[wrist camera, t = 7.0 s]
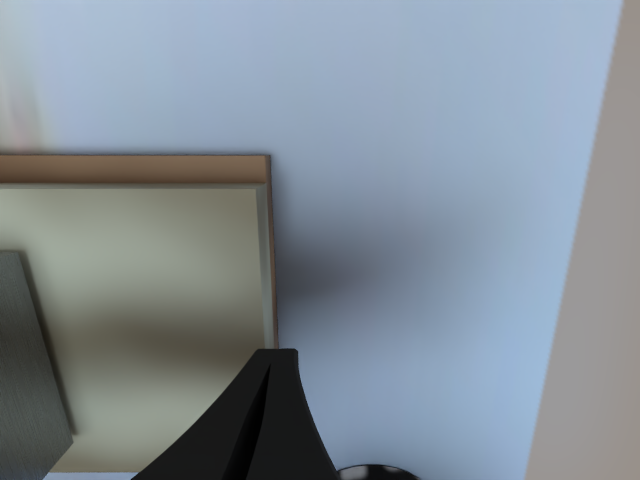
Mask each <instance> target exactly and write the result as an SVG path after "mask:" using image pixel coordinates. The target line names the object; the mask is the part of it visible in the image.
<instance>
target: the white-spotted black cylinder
mask: <svg viewBox="0 0 640 480" xmlns="http://www.w3.org/2000/svg"><path fill="white" fill-rule="evenodd" d="M337 473H338V475H339V477H340V478H341V480H420V479H419V478H417V477H415V476H413V475H412V474H410V473H408V472H405V471H402V470H400V469H397V468H392V467H386V466H375V465H366V466H358V467H352V468H348V469H344V470H341V471H338V472H337Z"/></svg>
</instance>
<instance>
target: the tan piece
mask: <svg viewBox="0 0 640 480" xmlns="http://www.w3.org/2000/svg"><path fill="white" fill-rule="evenodd" d="M0 252H18V254H19V258H20V261H21V265H22V268H23V271H24V275H25V278H26V282H27V285H28V288H29V292H30V295H31V299H32V302H33V305H34V309H35V312H36V316H37V319H38V323H39V326H40V329H41V333H42V336H43V340H44V343H45V346H46V350H47V353H48V357H49V360H50V363H51V367H52V370H53V374H54V377H55V380H56V384H57V387H58V391H59V394H60V397H61V401H62V404H63V408H64V411H65V414H66V418H67V421H68V425H69V428H70V431H71V435H72V438H73V442H74V443H73V444H72V445H71V446H70V448H69V449H68V450H67V451H66V452H65V454H64V455H63V456H62V457H61V458H60V459H59V461H58V462H57V463H56V464H55V465H54V467H53V468H52V469H51V470H50V471H49V472H141V471H142V470H143V469H144V468H145V467H147V466H148V465H149V464H150V463H151V462H152V461H154V460H155V459H156V458H157V457H158V456H159V455H161V454H162V453H163V452H164V451H165V450H166V449H167V448H168V447H170V446H171V445H172V444H173V443H174V442H175V441H176V440H177V439H178V438H179V437H180V436H181V435H182V434H183V433H184V432H186V431H187V430H188V429H189V428H190V427H191V426H192V425H193V424H194V423H195V422H196V421H197V420H198V418H199V417H200V416H201V415H202V414H203V413H204V412H205V411H206V410H207V409H208V408H209V407H210V406H211V405H212V403H213V402H214V401H215V400H216V399H217V398H218V397H219V396H220V395H221V393H222V392H223V391H224V390H225V389H226V387H227V386H228V385H229V384H230V383H231V382H232V380H233V379H234V378H235V377H236V375H237V374H238V373H239V372H240V370H241V369H242V368H243V367H244V365H245V364H246V363H247V361H248V360H249V359H250V357H251V356H252V355H253V353H254V352H255V351H256V350H257V349H279V347H278V325H277V302H276V279H275V256H274V233H273V210H272V187H271V164H270V155H0Z"/></svg>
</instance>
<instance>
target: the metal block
mask: <svg viewBox="0 0 640 480" xmlns="http://www.w3.org/2000/svg"><path fill="white" fill-rule="evenodd" d="M73 443H74V442H73V438H72V435H71V431H70V428H69V425H68V421H67V418H66V414H65V411H64V408H63V404H62V401H61V397H60V394H59V391H58V387H57V384H56V380H55V377H54V374H53V370H52V367H51V363H50V360H49V357H48V353H47V350H46V346H45V343H44V340H43V336H42V333H41V329H40V326H39V323H38V319H37V316H36V312H35V309H34V305H33V302H32V299H31V295H30V292H29V288H28V285H27V282H26V278H25V275H24V271H23V268H22V265H21V261H20V258H19V254H18V252H0V480H42V479H43V478H44V477H45V476H46V475H47V474H48V472H49V471H50V470H51V469H52V468H53V467H54V465H55V464H56V463H57V462H58V461H59V459H60V458H61V457H62V456H63V455H64V454H65V452H66V451H67V450H68V449H69V448H70V446H71V445H72V444H73Z"/></svg>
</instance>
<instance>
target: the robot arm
mask: <svg viewBox="0 0 640 480" xmlns="http://www.w3.org/2000/svg"><path fill="white" fill-rule="evenodd" d="M131 480H341V478H340V477H339V475H338V473H337V471H336V469H335V467H334V465H333V463H332V461H331V459H330V457H329V455H328V453H327V451H326V449H325V447H324V444H323V442H322V440H321V438H320V435H319V433H318V431H317V428H316V426H315V423H314V421H313V418H312V415H311V412H310V410H309V407H308V404H307V401H306V397H305V394H304V391H303V387H302V383H301V379H300V374H299V368H298V351H297V350H296V349H257V350H256V351H255V352H254V353H253V355H252V356H251V357H250V359H249V360H248V361H247V363H246V364H245V365H244V367H243V368H242V369H241V370H240V372H239V373H238V374H237V375H236V377H235V378H234V379H233V380H232V382H231V383H230V384H229V385H228V386H227V387H226V389H225V390H224V391H223V392H222V393H221V395H220V396H219V397H218V398H217V399H216V400H215V401H214V402H213V403H212V405H211V406H210V407H209V408H208V409H207V410H206V411H205V412H204V413H203V414H202V415H201V416H200V417H199V418H198V420H197V421H196V422H195V423H194V424H193V425H192V426H191V427H190V428H189V429H188V430H187V431H186V432H184V433H183V434H182V435H181V436H180V437H179V438H178V439H177V440H176V441H175V442H174V443H173V444H172V445H171V446H170V447H168V448H167V449H166V450H165V451H164V452H163V453H162V454H161V455H159V456H158V457H157V458H156V459H155V460H154V461H152V462H151V463H150V464H149V465H148V466H147V467H145V468H144V469H143V470H142V471H141V472H139V473H138V474H137V475H136V476H134V477H133V478H132V479H131Z"/></svg>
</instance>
